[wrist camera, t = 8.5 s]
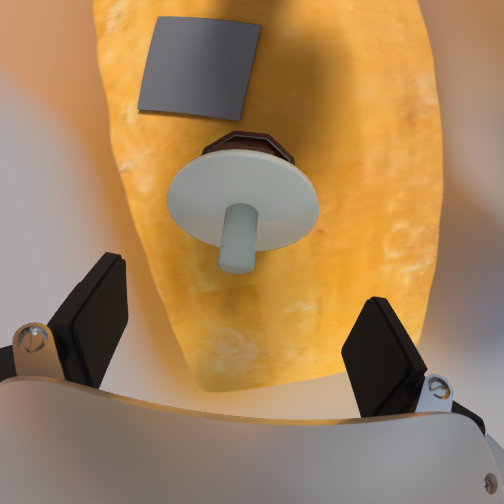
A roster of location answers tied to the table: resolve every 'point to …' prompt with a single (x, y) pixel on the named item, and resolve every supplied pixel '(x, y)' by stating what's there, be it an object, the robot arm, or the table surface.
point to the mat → (199, 66)
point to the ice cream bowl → (250, 144)
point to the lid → (242, 204)
